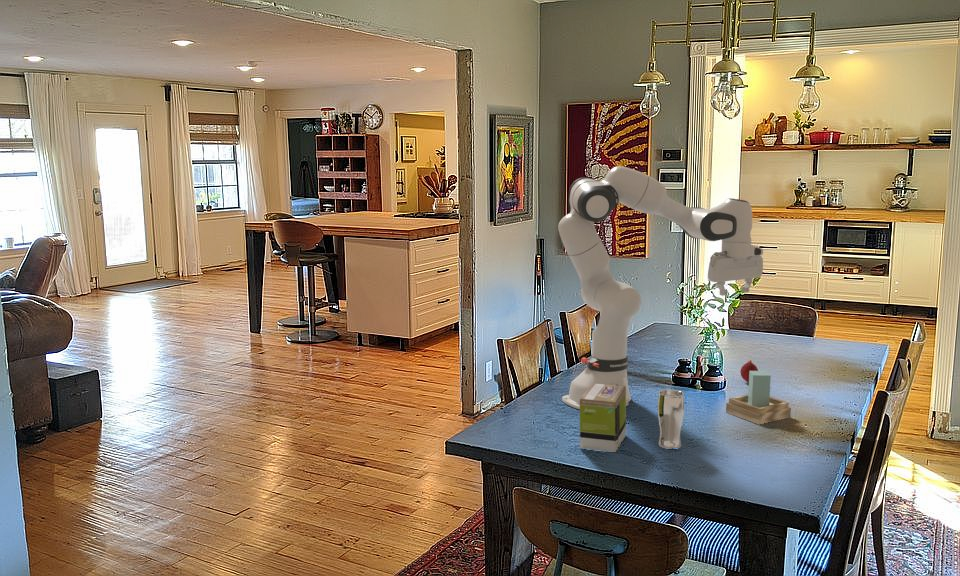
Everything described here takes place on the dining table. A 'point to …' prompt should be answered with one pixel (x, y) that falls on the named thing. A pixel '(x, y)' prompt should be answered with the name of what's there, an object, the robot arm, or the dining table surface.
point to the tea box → (603, 417)
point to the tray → (758, 410)
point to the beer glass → (670, 417)
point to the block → (759, 388)
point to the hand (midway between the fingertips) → (734, 293)
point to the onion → (747, 370)
